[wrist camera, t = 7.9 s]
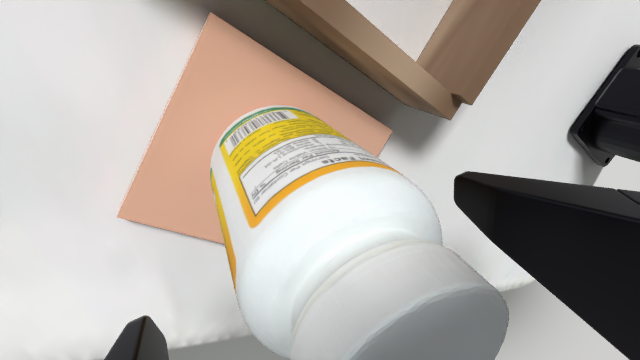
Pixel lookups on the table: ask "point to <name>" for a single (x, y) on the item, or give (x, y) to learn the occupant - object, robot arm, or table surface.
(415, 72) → the brown wooden tray
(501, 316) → the supplement bottle
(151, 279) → the table surface
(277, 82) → the terracotta tile
